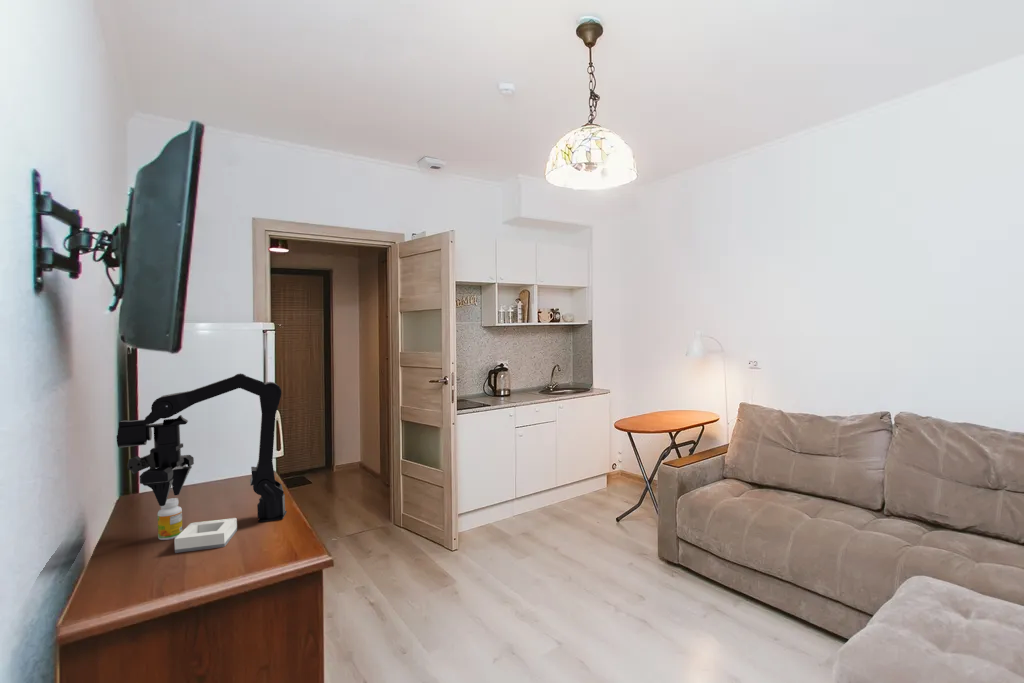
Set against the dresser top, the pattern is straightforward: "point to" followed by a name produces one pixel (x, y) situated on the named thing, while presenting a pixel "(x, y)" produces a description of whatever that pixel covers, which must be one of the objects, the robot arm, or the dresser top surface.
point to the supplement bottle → (170, 520)
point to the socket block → (206, 535)
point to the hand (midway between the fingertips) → (169, 500)
